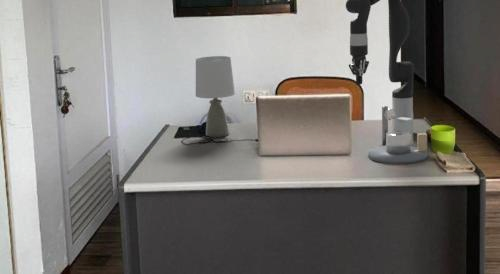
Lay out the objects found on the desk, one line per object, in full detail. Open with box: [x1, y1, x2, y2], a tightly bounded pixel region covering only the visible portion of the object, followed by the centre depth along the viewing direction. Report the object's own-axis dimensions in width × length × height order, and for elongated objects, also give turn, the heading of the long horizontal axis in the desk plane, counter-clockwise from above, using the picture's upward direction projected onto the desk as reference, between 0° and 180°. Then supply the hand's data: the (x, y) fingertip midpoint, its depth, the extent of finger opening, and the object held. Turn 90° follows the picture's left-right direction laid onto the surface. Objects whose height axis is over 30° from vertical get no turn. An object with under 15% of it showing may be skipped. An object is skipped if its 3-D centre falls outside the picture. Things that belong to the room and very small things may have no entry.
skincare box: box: [397, 117, 414, 146], centre depth 328 cm, size 6×4×12 cm
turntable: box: [367, 132, 429, 165], centre depth 311 cm, size 24×24×9 cm
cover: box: [386, 131, 411, 155], centre depth 310 cm, size 10×10×8 cm
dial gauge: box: [379, 105, 396, 146], centre depth 322 cm, size 8×10×18 cm
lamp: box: [195, 55, 235, 138], centre depth 362 cm, size 19×19×37 cm
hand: (359, 84), depth 328 cm, fingers closed
